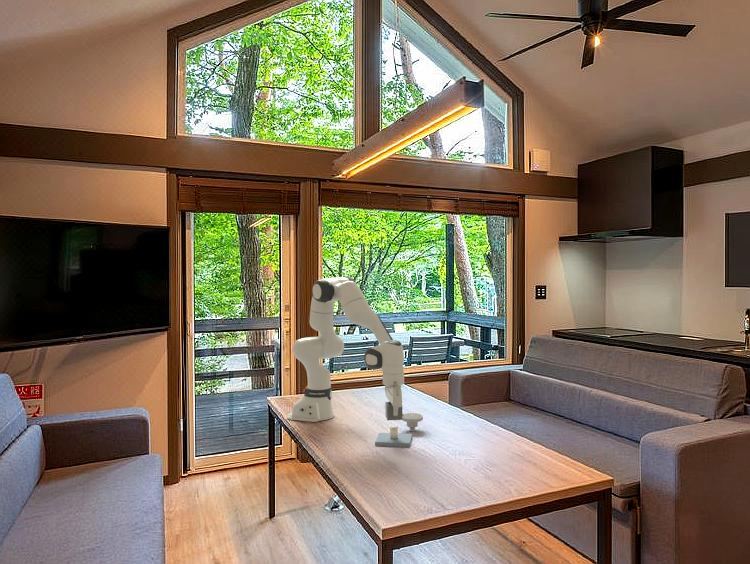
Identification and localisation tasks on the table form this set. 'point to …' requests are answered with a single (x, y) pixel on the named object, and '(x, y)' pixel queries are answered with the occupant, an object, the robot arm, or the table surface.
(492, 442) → the table surface
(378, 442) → the base
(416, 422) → the showerhead
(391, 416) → the collar
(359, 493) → the table surface
